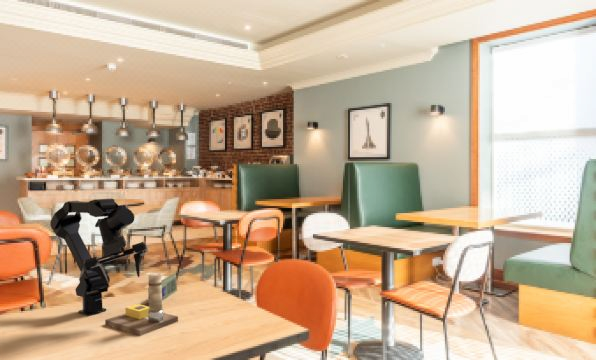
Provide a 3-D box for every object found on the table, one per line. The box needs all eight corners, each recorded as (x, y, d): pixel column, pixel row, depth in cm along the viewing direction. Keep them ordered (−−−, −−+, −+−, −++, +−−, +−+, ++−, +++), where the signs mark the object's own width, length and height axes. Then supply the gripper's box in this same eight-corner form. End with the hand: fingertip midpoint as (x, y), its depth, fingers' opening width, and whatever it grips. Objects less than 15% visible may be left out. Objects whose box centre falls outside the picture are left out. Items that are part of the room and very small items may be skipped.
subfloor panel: (105, 324, 133) (105, 319, 133) (143, 311, 145) (143, 307, 145) (140, 335, 124) (140, 330, 124) (177, 321, 136) (177, 316, 136)
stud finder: (125, 315, 137) (125, 307, 137) (137, 311, 141) (137, 303, 141) (139, 319, 133) (139, 310, 133) (151, 315, 137) (151, 306, 137)
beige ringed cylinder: (145, 322, 130) (144, 276, 130) (152, 317, 135) (151, 273, 134) (159, 322, 130) (158, 277, 130) (165, 317, 134) (164, 273, 134)
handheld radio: (178, 291, 171) (148, 311, 146) (170, 291, 171) (139, 311, 147) (177, 274, 171) (147, 292, 146) (169, 274, 171) (138, 292, 146)
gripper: (73, 241, 128) (86, 291, 125) (137, 221, 134) (150, 269, 131) (83, 246, 139) (95, 292, 136) (141, 228, 144) (154, 272, 141)
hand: (123, 282), depth 135 cm, fingers open, 9 cm apart
